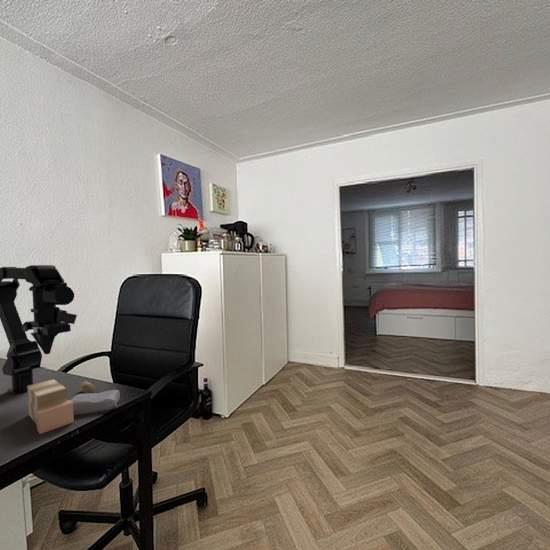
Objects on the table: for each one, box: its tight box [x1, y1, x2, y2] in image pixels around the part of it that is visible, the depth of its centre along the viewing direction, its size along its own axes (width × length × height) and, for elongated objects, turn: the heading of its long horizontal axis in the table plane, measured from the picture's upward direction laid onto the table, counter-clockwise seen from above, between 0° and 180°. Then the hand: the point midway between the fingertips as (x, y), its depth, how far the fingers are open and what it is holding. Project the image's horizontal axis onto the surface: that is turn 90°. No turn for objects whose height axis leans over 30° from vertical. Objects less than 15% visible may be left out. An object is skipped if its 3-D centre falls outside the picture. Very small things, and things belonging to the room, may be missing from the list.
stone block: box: [69, 389, 121, 416], centre depth 87 cm, size 12×5×10 cm
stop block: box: [36, 399, 75, 435], centre depth 76 cm, size 3×7×5 cm, turn 139°
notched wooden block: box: [27, 378, 68, 426], centre depth 81 cm, size 12×6×8 cm, turn 49°
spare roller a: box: [78, 380, 96, 394], centre depth 98 cm, size 5×3×3 cm
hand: (47, 353), depth 96 cm, fingers closed
